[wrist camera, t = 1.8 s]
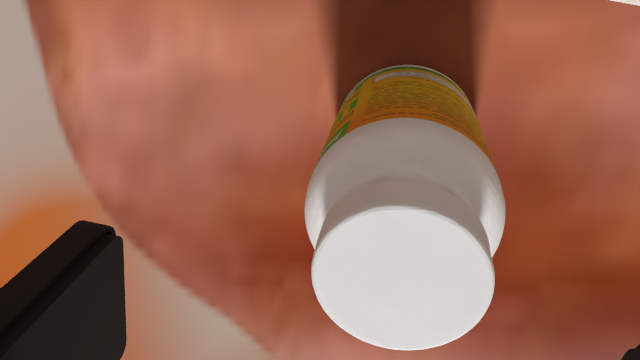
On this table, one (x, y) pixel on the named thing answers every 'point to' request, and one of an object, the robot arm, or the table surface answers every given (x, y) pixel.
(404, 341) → the supplement bottle
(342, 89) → the table surface
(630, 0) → the frame
